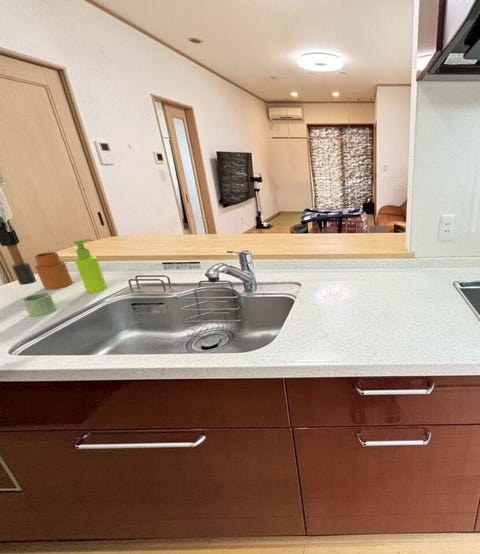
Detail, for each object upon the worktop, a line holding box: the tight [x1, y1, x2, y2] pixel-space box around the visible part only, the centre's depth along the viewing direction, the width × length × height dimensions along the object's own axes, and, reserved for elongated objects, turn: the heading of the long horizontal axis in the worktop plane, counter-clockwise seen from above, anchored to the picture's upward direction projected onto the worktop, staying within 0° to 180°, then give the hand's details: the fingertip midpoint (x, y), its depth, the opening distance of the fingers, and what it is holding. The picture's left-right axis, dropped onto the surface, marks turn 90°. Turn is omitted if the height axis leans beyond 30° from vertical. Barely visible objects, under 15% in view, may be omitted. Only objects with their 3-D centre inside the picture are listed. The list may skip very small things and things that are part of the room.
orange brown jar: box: [34, 251, 74, 291], centre depth 115 cm, size 8×8×13 cm
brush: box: [6, 244, 37, 286], centre depth 89 cm, size 4×4×18 cm
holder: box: [21, 292, 58, 318], centre depth 96 cm, size 6×6×6 cm
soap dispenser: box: [73, 238, 108, 294], centre depth 110 cm, size 6×7×20 cm
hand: (10, 243), depth 88 cm, fingers closed on brush, 2 cm apart
